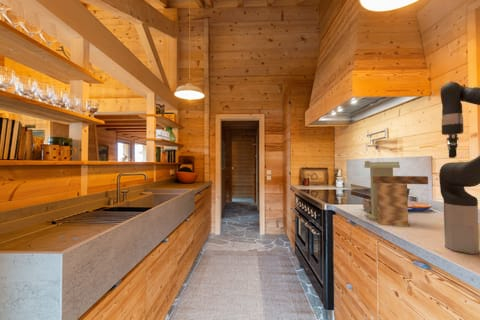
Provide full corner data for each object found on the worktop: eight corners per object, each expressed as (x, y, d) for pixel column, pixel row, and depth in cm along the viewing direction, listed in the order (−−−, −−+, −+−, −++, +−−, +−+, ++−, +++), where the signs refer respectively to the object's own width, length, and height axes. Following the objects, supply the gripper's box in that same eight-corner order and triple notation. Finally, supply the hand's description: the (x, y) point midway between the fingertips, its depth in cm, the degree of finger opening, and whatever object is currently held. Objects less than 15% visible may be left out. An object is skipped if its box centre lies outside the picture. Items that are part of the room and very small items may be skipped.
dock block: (403, 222, 120) (402, 182, 120) (409, 226, 112) (408, 184, 112) (376, 220, 125) (375, 182, 125) (380, 224, 116) (379, 183, 117)
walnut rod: (424, 183, 115) (424, 176, 115) (428, 184, 111) (427, 176, 111) (372, 182, 123) (372, 175, 123) (374, 183, 120) (374, 176, 120)
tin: (375, 214, 139) (375, 201, 139) (370, 214, 140) (370, 201, 140) (366, 209, 154) (366, 197, 154) (362, 209, 154) (361, 197, 154)
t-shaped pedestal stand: (395, 218, 130) (394, 160, 130) (401, 222, 120) (399, 160, 121) (365, 216, 135) (364, 161, 136) (368, 219, 126) (367, 161, 127)
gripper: (441, 127, 113) (441, 158, 112) (442, 122, 102) (442, 157, 101) (461, 125, 107) (462, 158, 107) (464, 120, 97) (465, 156, 96)
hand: (452, 157), depth 104 cm, fingers open, 8 cm apart
